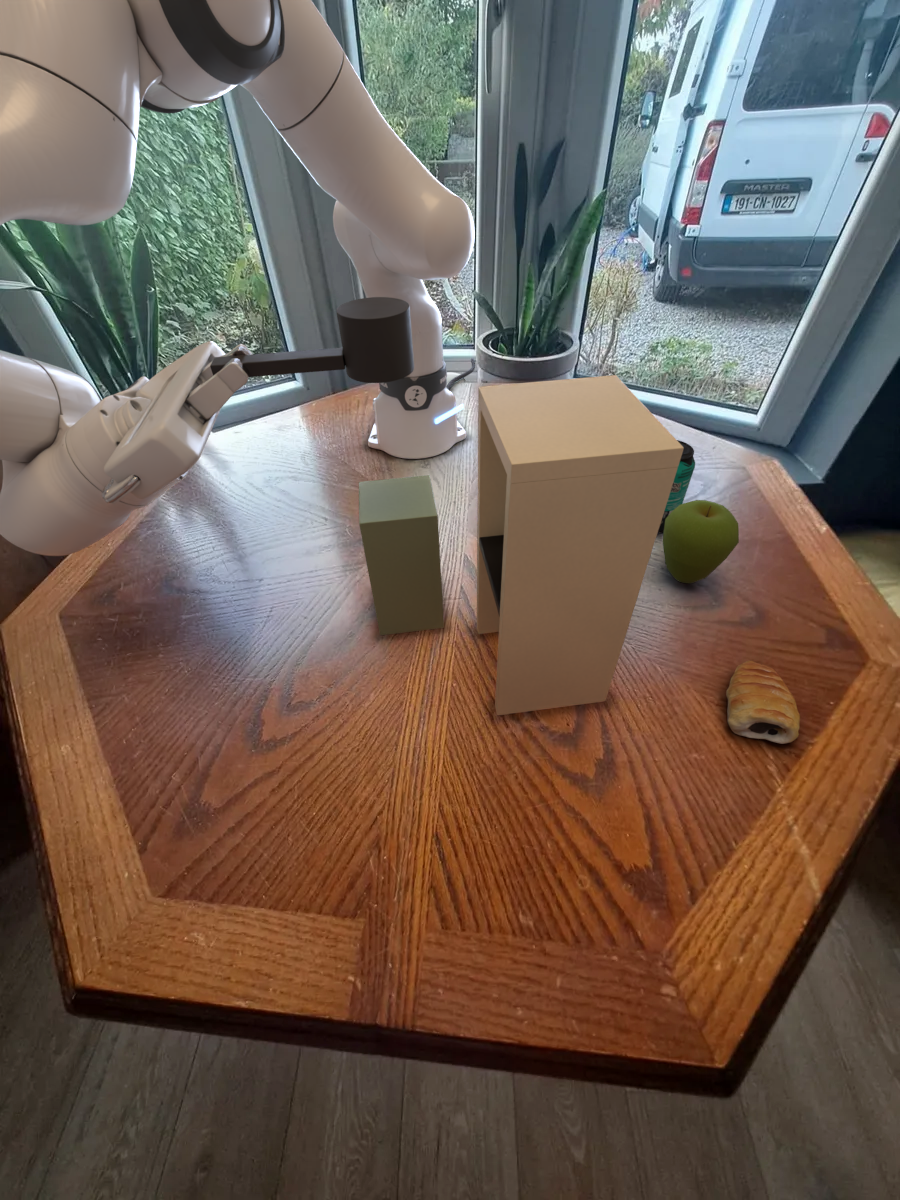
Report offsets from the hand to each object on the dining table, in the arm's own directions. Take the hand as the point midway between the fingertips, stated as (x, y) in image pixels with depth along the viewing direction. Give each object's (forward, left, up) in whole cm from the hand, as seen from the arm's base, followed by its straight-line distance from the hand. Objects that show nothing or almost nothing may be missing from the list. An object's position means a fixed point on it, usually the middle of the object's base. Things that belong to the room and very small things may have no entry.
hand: (246, 360), depth 44 cm
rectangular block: (0, +11, -32) cm, 34 cm away
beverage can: (-13, +49, -32) cm, 60 cm away
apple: (0, +48, -32) cm, 58 cm away
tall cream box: (+11, +25, -32) cm, 42 cm away
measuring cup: (0, +6, -2) cm, 6 cm away
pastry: (+21, +46, -32) cm, 60 cm away
